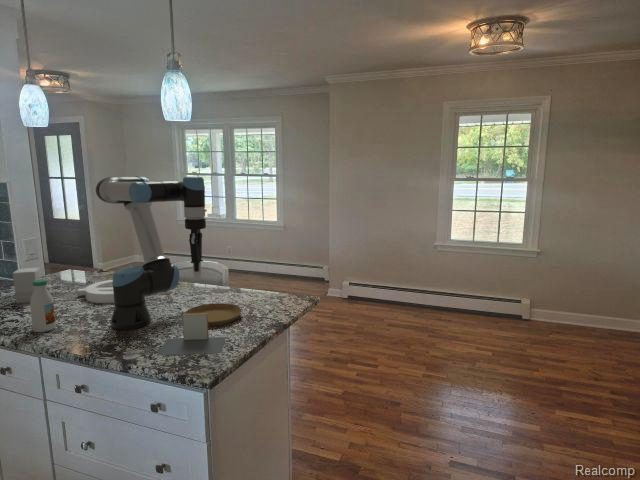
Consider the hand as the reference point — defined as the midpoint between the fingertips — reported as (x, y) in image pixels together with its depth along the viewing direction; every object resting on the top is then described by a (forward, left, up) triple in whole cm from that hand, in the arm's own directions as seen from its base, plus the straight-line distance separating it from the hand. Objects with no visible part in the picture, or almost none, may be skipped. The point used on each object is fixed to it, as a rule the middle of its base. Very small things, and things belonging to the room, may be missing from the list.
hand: (197, 278), depth 159 cm
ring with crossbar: (-51, +55, -23) cm, 78 cm away
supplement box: (-89, +48, -22) cm, 103 cm away
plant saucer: (+3, +17, -23) cm, 28 cm away
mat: (0, -12, -22) cm, 25 cm away
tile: (0, -7, -22) cm, 23 cm away
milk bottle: (-62, +9, -22) cm, 67 cm away
